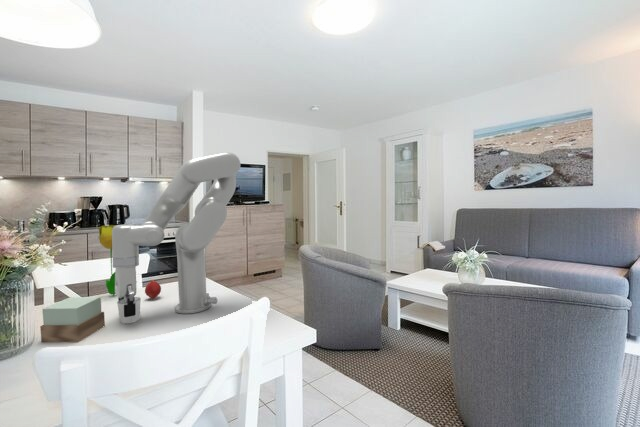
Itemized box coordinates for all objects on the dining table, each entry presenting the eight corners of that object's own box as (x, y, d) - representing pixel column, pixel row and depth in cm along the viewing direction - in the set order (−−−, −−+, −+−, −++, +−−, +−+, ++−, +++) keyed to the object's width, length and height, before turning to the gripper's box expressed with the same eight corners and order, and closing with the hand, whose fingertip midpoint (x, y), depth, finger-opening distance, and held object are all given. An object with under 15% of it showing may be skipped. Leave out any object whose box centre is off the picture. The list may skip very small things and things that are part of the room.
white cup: (113, 322, 106) (112, 301, 106) (134, 315, 112) (132, 295, 112) (126, 325, 103) (124, 304, 102) (146, 318, 109) (145, 298, 108)
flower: (96, 298, 131) (92, 226, 129) (113, 292, 139) (109, 224, 137) (114, 299, 129) (109, 226, 127) (130, 293, 137) (126, 224, 135)
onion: (143, 298, 130) (142, 279, 129) (159, 295, 133) (158, 276, 133) (147, 302, 125) (146, 282, 125) (163, 298, 129) (162, 279, 129)
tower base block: (105, 326, 103) (104, 311, 103) (78, 342, 92) (77, 325, 92) (71, 327, 103) (70, 312, 103) (41, 343, 92) (40, 326, 92)
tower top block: (101, 312, 102) (100, 297, 102) (77, 325, 92) (76, 308, 92) (70, 312, 102) (69, 297, 102) (43, 325, 92) (42, 308, 92)
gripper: (108, 259, 110) (109, 307, 111) (117, 267, 97) (118, 322, 98) (133, 256, 115) (133, 303, 116) (144, 264, 102) (145, 316, 103)
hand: (126, 311), depth 107 cm, fingers open, 9 cm apart
